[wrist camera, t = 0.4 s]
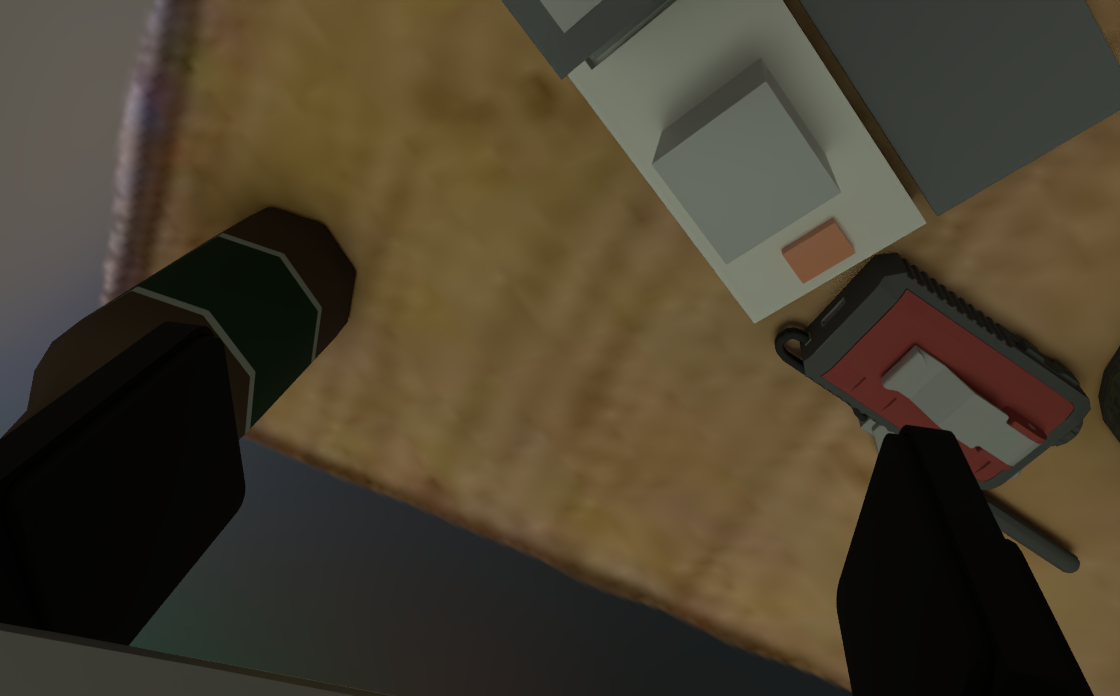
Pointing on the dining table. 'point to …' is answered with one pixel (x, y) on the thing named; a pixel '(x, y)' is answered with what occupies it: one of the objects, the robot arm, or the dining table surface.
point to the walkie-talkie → (942, 379)
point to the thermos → (1111, 395)
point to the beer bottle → (223, 311)
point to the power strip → (696, 71)
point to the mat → (972, 81)
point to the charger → (573, 26)
